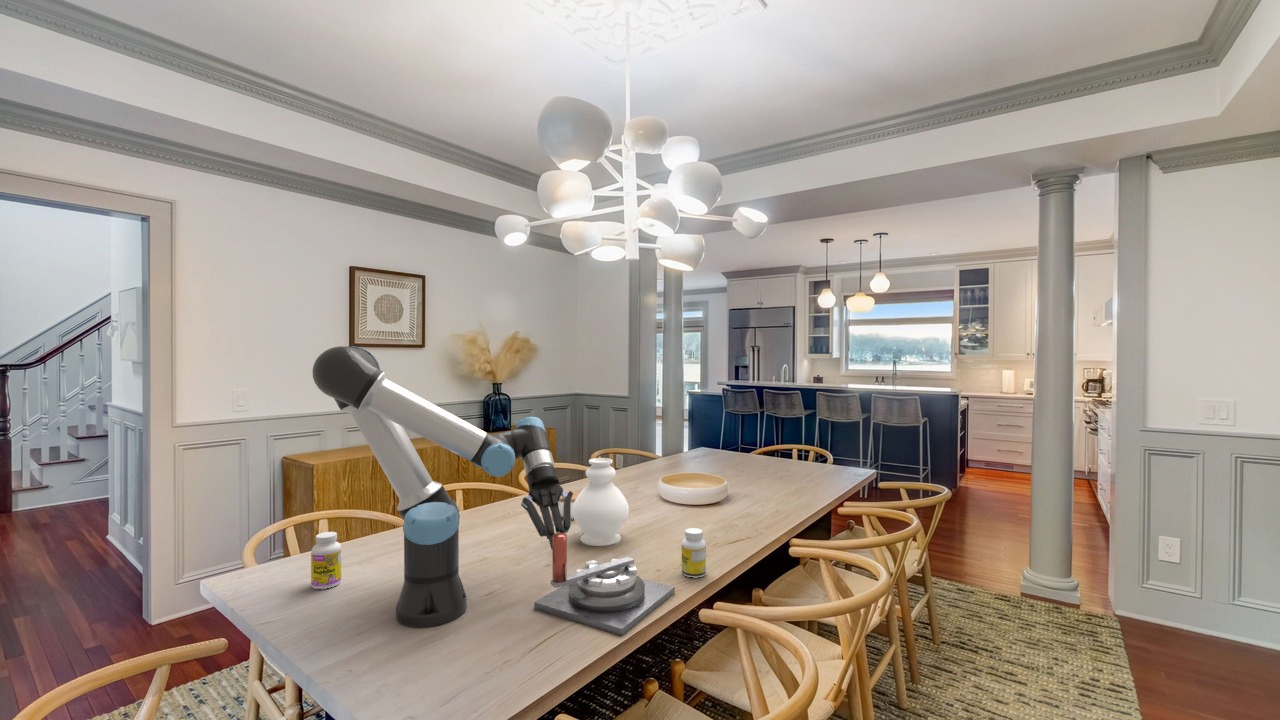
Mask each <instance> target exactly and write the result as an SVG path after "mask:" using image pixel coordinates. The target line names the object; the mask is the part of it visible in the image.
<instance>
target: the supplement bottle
mask: <svg viewBox="0 0 1280 720" xmlns="http://www.w3.org/2000/svg"><path fill="white" fill-rule="evenodd" d="M337 539H338V533H337V532H335V531H325V532H321V533H319V534H316V535H315V542H316V544H315V545H313V546H312V549H311V550H310V551H311V553H310V556H311V557H310V558H311V559H310V561H311V562H310V565H311V566H310V569H311V570H310V571H311V572H310V576H311V577H310V584H311V588H312V589H314V590H318V589H321V590H328V589H327V588H329V589H332V588H335V587H337V586H339V584H341V581H342V544H341V543H340V542H338V541H337ZM334 586H335V587H334ZM331 587H332V588H331Z"/></svg>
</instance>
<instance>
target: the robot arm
mask: <svg viewBox="0 0 1280 720" xmlns="http://www.w3.org/2000/svg"><path fill="white" fill-rule="evenodd" d="M312 379H313V383H314V384H315V385H316V387H317V388H318V389H319V390H320V392H322V394H324V395H327V396H328V397H330V398H333V400H334V401H335V403H336V404H337V406H338V408H339V409H340V411H341V412H343V413H348V414H350V415H351V416H352V418H353V420H354V421H355V424H356V426H357V427H358V429H359V431H360V432H361V434H362V437H364V439H365V441H366V442H367V445H368V446H369V448H370V450H371V452H372V453H373V455H374V457H375V459H376V460H377V462H378V464H379V465H380V467H381V469H382V471H383V473H384V475H385V476H386V478H387V480H388V482H389V484H390V485H391V487H392V489H393V491H394V492H395V494H396V496H397V497H398V499H399V502H398V504H397V509H396V510H397V511H398V514H399V515H400V516H401V519H402V520H403V525H402V531H403V559H404V560H403V561H404V562H403V573H404V574H403V577H404V578H403V583H402V584H403V585H402V587H401V592H400V593H399V599H398V601H397V604H396V606H395V620H396V621H397V622H398V624H400V625H403V626H406V627H411V628H425V627H426V628H427V627H428V628H429V627H434V626H438V625H442V624H446V623H449V622H451V621H453V620H456V619H458V618H459V617H460V616H462V615H463V614H464V613H465V612H466V610H467V608H468V603H467V602H468V601H467V600H468V599H467V598H468V597H467V593H466V592H465V588H464V585H463V583H462V580H461V577H460V574H459V573H460V572H459V569H460V568H459V567H460V566H459V565H460V564H459V563H460V562H459V561H460V557H459V555H460V554H459V553H460V551H459V549H460V547H459V542H460V541H459V539H460V537H459V536H460V535H459V527H460V510H459V507H458V505H457V503H456V502H455V501H454V500H453V498H451V497H450V496H449V494H448V493H447V490H446V489H445V487H444V486H443V483H441V482H437V481H434V480H433V479H432V477H431V475H430V473H429V471H428V470H427V468H426V466H425V464H424V463H423V460H422V458H420V455H419V453H418V452H417V450H416V448H415V446H414V444H413V442H412V441H411V439H410V436H408V433H407V432H406V430H405V429H407V430H408V431H411V432H412V433H414V434H416V435H418V436H420V437H423V438H424V439H426V440H429V441H430V442H432V443H434V444H436V445H438V446H440V447H441V448H442V449H443V448H444V449H446V450H448V451H449V452H451V453H453V454H456V455H457V456H459V457H461V458H464V459H465V460H467V461H469V462H471V463H472V464H473V465H474V466H475V467H480V468H482V469H483V471H485V473H487V474H488V475H490V476H492V477H504V476H506V475H508V474H509V473H510V472H511V471H512V470H513V469H514V468H515V467H514V466H515V464H516V463H515V462H516V460H517V459H522V462H523V468H524V472H525V475H526V482H527V485H528V490H529V492H528V494H527V495H528V496H526V497H523V498H522V501H521V503H520V505H521V507H522V508H523V509H524V510H525V511H526V512H527V514H528V516H529V518H530V520H531V522H532V524H533V525H534V527H535V530H536V532H537V533H538V535H539V536H540V537H546V539H547V540H548V542H549V546H550V549H551V550H552V535H553V534H555V533H565V534H567V533H569V530H570V528H571V519H570V514H571V498H572V495H573V493H572V492H573V491H572V490H571V491H572V492H571V491H570V490H569V491H570V492H569V491H566V490H564V488H563V486H562V485H561V484H560V479H559V476H558V474H557V473H558V472H557V469H556V464H555V461H554V458H553V454H552V453H553V452H552V450H551V446H550V442H549V438H548V433H547V430H546V428H545V425H544V422H543V421H542V419H541V418H539V417H536V416H526V417H524V418H523V419H520V420H518V421H517V423H516V425H515V429H512V430H508V431H501V432H497V433H487V432H486V431H484V430H482V429H480V428H478V427H477V426H475V425H473V424H471V423H469V422H468V421H466V420H465V419H461V418H460V417H458V416H456V415H455V414H453V413H451V412H449V411H447V410H445V409H444V408H441V407H439V406H438V405H436V404H435V403H432V402H431V401H428V400H426V399H425V398H423V397H421V396H419V395H417V394H416V393H414V392H412V391H410V390H408V389H406V388H404V386H403V387H402V386H401V385H399V384H397V383H395V382H393V381H391V380H390V379H388V378H387V374H386V372H385V371H383V370H381V368H380V366H379V362H378V360H377V358H376V357H375V356H374V355H373V354H372V353H371V351H370V352H369V351H368V350H367V349H364V348H363V347H359V346H354V345H349V346H348V345H347V346H345V345H343V346H335V347H330V348H328V349H326V350H324V351H323V352H322V353H320V354H319V355H318V357H316V359H315V360H314V364H313V366H312ZM561 496H562V499H563V501H564V508H563V518H562V517H561V515H560V511H559V507H558V501H559V499H560V497H561ZM533 503H534V504H533ZM535 505H537V506H538V507H539V509H540V511H538V510H537V508H536V507H535ZM539 512H540V513H541V516H542V517H541V516H540V515H539ZM551 515H552V516H551ZM552 519H553V520H552ZM553 523H554V524H553Z"/></svg>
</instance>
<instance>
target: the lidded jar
mask: <svg viewBox="0 0 1280 720" xmlns="http://www.w3.org/2000/svg"><path fill="white" fill-rule="evenodd" d="M570 491H571V492H572V493H573V495H572V498H571V514H570V520H573V519H572V518H573V515H572V508H573V504H574V502H575V500H576V498H577V497H578V495H579V494H580V492H581V491H572V490H568V492H570ZM558 507H559V511H560V515H561V518H562V517H563V508H564V501H563V499H562V496H561V497H560V499H559V501H558Z"/></svg>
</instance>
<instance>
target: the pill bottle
mask: <svg viewBox="0 0 1280 720" xmlns="http://www.w3.org/2000/svg"><path fill="white" fill-rule="evenodd" d="M703 533H704V531H703V529H701V528H697V527H690V528H686V529H685V530H684V537H685V538H683V540H682V541H681V574H682V575H683V576H685V577H686V576H687V577H686V578H689V577H693V578H692V579H699V578H698V577H700V578H701V577H704V576H705V575H706V572H707V571H706V569H707V568H706V567H707V566H706V565H707V543H706V541H705V540H704V539H703V535H704V534H703Z"/></svg>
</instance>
